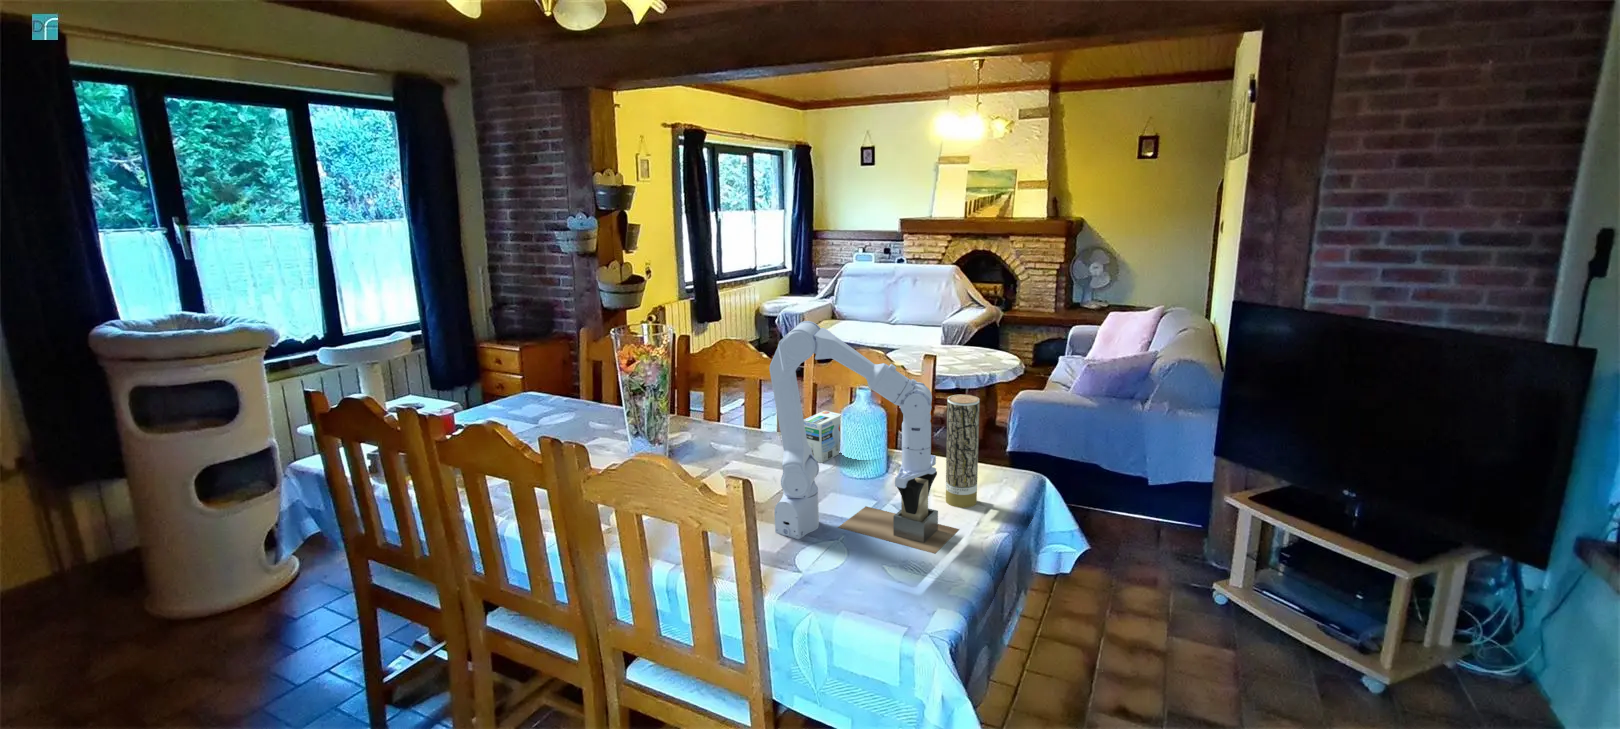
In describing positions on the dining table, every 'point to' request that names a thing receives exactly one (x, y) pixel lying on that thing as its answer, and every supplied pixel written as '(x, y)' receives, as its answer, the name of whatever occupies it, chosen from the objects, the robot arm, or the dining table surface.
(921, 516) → the beige wooden block
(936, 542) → the plank
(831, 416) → the light bulb box
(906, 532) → the grey open box
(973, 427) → the paper tube
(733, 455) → the dining table surface
